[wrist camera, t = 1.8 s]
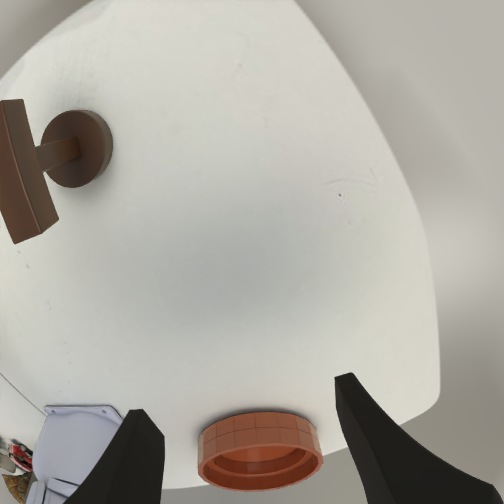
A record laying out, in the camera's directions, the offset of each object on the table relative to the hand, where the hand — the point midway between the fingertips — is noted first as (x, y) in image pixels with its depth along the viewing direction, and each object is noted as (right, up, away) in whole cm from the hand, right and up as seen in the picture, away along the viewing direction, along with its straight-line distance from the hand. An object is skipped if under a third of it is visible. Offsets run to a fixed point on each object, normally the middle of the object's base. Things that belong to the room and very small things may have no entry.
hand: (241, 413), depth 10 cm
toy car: (-34, -25, +21) cm, 47 cm away
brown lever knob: (-10, +12, +5) cm, 16 cm away
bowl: (+1, -13, +18) cm, 22 cm away
